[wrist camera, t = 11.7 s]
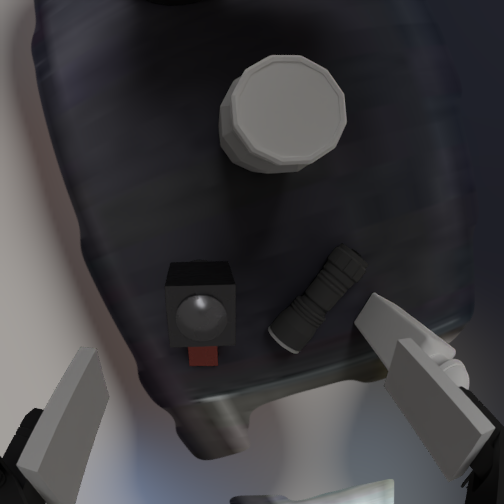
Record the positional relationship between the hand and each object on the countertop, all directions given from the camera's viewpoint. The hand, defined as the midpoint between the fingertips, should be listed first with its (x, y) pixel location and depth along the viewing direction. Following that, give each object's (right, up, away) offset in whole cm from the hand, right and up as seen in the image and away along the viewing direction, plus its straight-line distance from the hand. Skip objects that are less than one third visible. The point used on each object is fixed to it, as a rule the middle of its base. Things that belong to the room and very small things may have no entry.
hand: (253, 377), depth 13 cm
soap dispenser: (+19, -4, +34) cm, 39 cm away
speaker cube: (-7, +1, +27) cm, 28 cm away
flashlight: (+8, 0, +32) cm, 33 cm away
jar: (+1, +20, +25) cm, 32 cm away
